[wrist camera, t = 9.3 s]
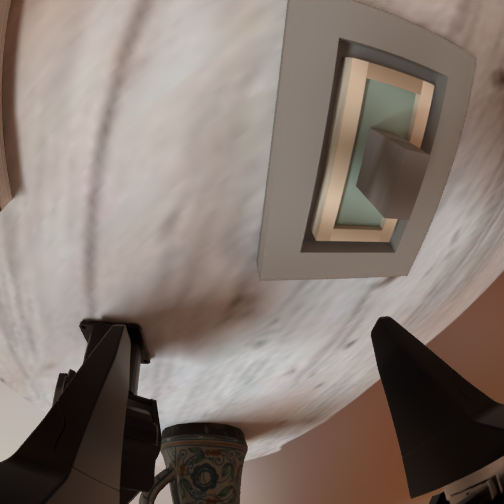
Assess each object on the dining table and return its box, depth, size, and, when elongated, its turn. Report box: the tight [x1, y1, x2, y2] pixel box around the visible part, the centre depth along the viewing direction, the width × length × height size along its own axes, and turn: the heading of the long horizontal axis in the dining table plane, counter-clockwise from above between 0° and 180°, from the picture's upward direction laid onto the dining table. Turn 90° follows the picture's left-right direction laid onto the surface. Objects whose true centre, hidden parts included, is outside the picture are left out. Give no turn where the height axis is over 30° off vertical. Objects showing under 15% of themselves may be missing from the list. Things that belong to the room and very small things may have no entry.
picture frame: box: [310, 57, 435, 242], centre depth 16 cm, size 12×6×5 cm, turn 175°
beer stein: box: [139, 423, 248, 504], centre depth 37 cm, size 16×19×25 cm
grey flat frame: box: [257, 0, 476, 280], centre depth 17 cm, size 19×13×2 cm
